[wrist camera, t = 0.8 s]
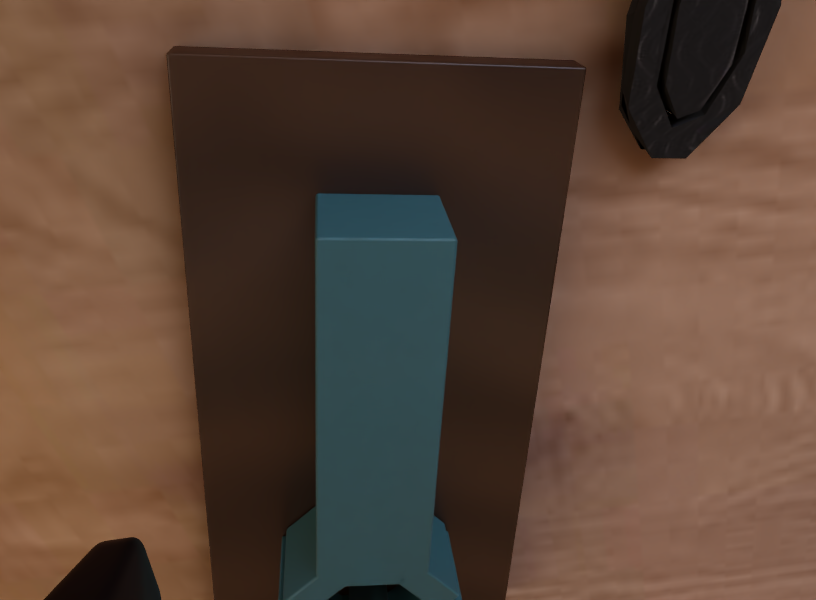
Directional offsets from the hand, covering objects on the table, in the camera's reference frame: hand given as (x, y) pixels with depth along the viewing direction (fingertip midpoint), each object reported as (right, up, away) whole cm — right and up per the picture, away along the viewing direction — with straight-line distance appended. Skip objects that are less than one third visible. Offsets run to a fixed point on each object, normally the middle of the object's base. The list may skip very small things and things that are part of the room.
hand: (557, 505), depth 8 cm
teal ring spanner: (-3, -2, +15) cm, 15 cm away
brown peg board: (-3, 0, +15) cm, 15 cm away
